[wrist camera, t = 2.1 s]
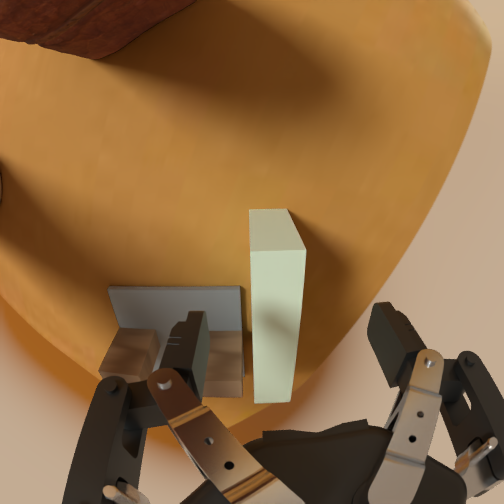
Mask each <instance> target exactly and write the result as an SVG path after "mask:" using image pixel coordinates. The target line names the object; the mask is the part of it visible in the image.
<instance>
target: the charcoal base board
mask: <svg viewBox="0 0 504 504" xmlns="http://www.w3.org/2000/svg"><path fill="white" fill-rule="evenodd" d="M107 290H108V294H109V297H110V300H111V303H112V306H113V309H114V312H115V315H116V318H117V321H118V324H119V327H121V328H136V329H155V330H156V333H157V336H158V340H159V343H160V349H159V353H158V356H157V359H156V362H155V365H154V368H153V371H152V372H154V371H156V370H158V369H159V366H160V363H161V360H162V357H163V353H164V350H165V347H166V345H167V341H168V338H169V335H170V332H171V329H172V328H173V327H174V326H175V325H176V323H177V322H178V321H186V319H187V316H188V312H189V311H205V312H206V316H207V322H208V328H209V331H242V318H241V299H240V286H199V287H138V286H109V287H108V289H107ZM242 341H243V337H242ZM243 377H245V371H244V354H243Z"/></svg>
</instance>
